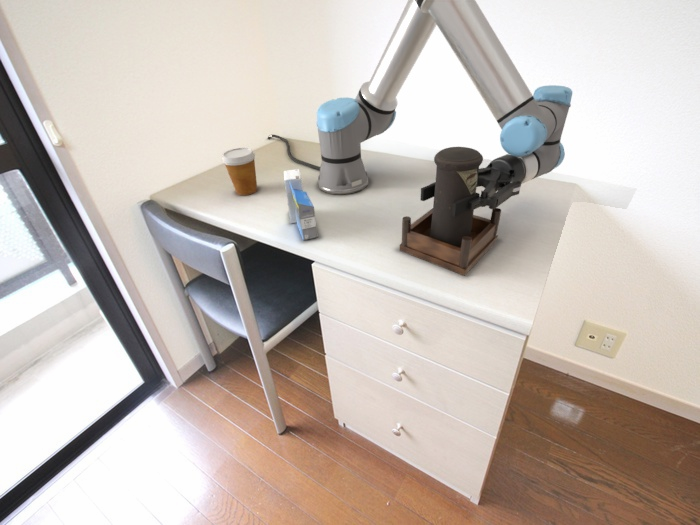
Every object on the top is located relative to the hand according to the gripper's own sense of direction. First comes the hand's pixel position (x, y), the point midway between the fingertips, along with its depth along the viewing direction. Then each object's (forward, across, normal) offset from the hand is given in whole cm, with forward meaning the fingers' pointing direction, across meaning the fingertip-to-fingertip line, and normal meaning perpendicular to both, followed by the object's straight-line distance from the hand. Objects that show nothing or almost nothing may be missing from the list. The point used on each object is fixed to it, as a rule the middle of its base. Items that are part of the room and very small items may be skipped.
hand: (437, 202), depth 73 cm
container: (-5, 0, -11) cm, 12 cm away
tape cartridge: (+17, +27, -13) cm, 34 cm away
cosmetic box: (+15, +34, -13) cm, 40 cm away
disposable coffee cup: (+20, +60, -12) cm, 64 cm away
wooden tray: (-5, 0, -12) cm, 13 cm away
